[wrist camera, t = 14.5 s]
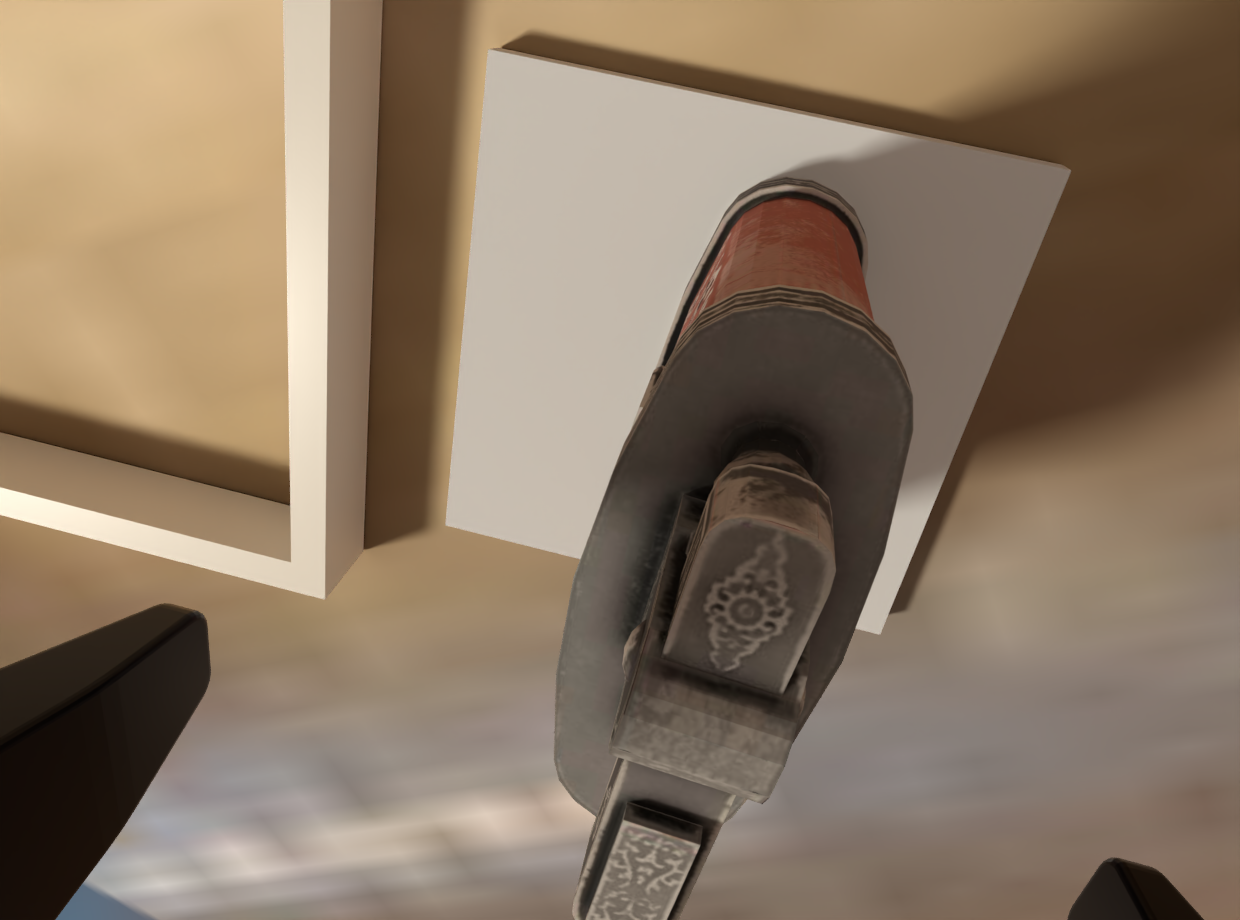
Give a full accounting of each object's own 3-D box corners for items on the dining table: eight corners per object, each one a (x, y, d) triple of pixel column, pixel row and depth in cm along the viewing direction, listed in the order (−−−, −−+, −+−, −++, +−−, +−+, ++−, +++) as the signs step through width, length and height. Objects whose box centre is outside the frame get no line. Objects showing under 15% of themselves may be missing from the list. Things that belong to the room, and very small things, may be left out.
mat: (498, 47, 16) (488, 49, 15) (1062, 164, 15) (1072, 170, 14) (454, 512, 20) (445, 525, 20) (877, 618, 20) (880, 634, 19)
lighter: (718, 152, 15) (610, 351, 6) (907, 207, 15) (1060, 487, 6) (611, 525, 19) (454, 963, 10) (759, 571, 19) (726, 1054, 10)
